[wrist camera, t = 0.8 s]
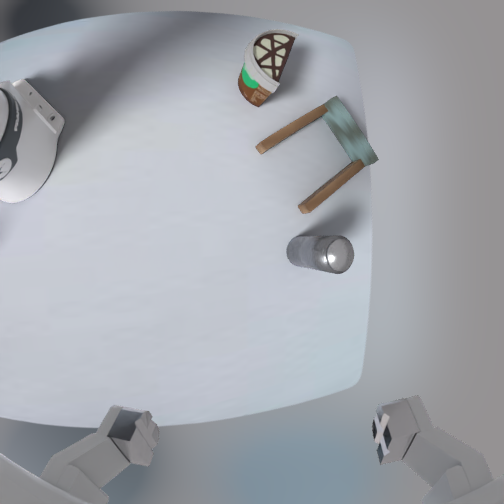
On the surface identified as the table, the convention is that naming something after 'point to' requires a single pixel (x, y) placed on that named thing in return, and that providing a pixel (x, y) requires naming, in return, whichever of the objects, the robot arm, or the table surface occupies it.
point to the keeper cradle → (347, 137)
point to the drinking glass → (321, 253)
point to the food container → (264, 64)
